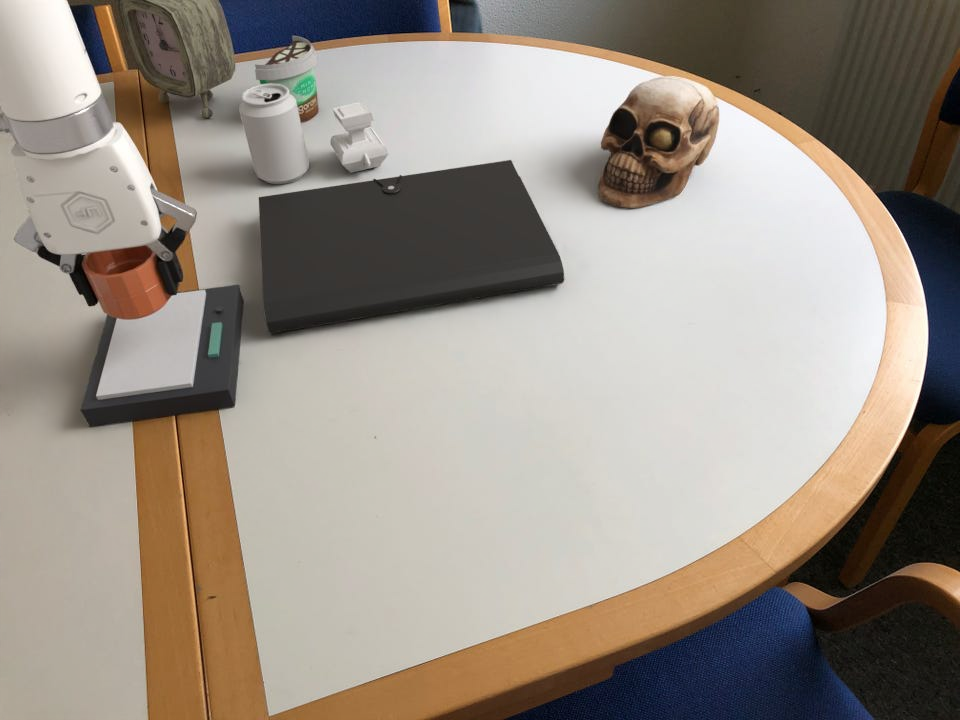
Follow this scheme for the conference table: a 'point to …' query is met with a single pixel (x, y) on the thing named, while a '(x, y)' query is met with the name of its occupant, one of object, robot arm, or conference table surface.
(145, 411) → the scale
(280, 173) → the can
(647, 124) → the beige skull model
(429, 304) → the file folder
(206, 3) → the tabletop clock
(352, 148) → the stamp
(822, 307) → the conference table surface
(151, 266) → the terracotta plant pot
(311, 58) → the food container
